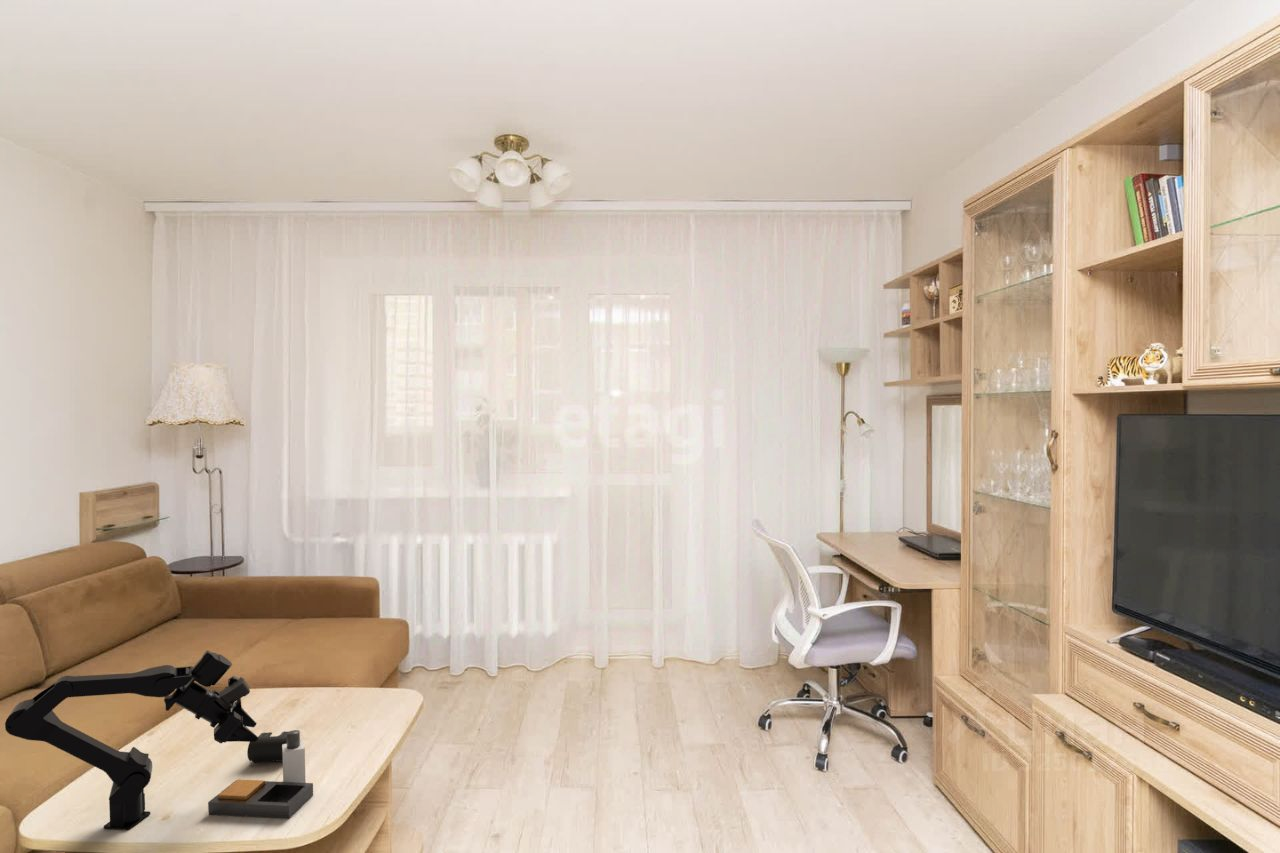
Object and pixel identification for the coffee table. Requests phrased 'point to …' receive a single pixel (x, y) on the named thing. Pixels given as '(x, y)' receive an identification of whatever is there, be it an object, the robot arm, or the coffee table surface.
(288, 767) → the white soap bottle
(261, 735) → the end cap
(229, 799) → the two-compartment sponge tray
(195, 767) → the coffee table surface
